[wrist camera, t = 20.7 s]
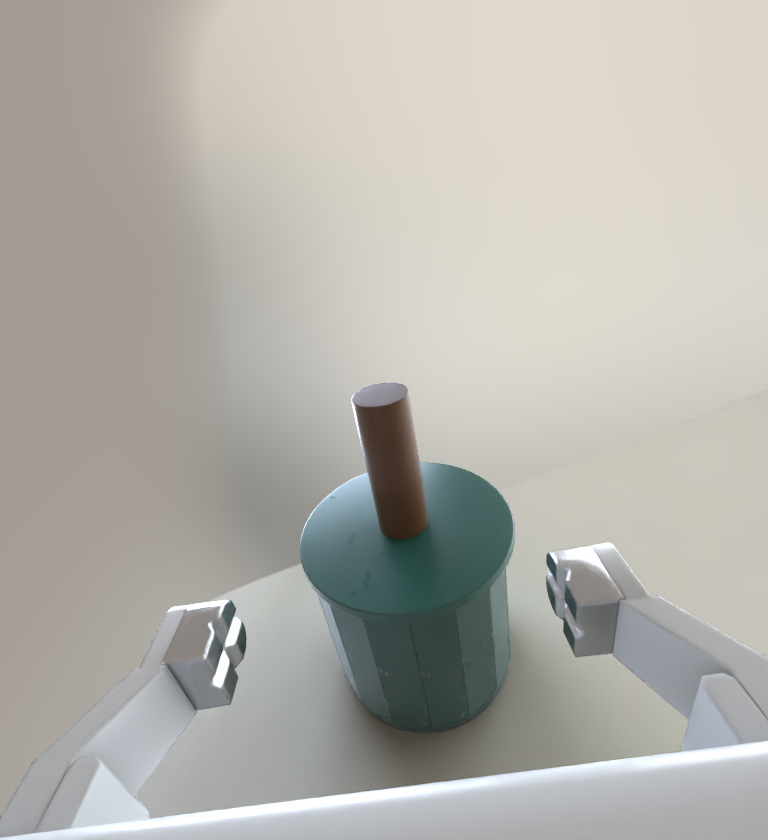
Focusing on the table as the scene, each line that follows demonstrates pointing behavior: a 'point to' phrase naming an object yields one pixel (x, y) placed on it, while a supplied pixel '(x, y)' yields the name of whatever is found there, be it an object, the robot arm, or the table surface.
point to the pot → (427, 662)
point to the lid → (404, 525)
